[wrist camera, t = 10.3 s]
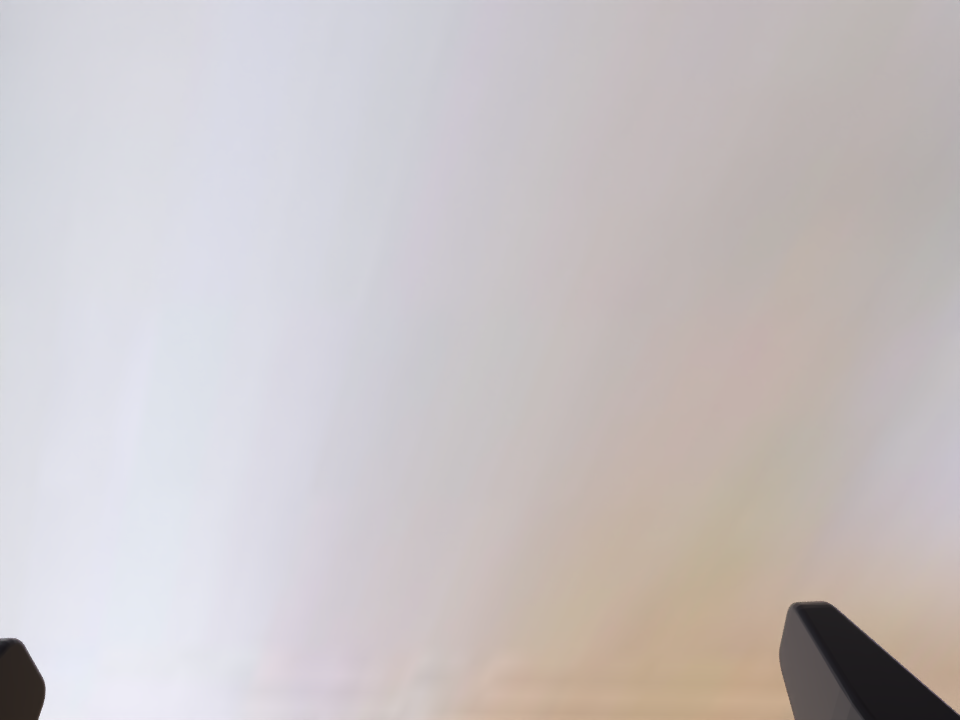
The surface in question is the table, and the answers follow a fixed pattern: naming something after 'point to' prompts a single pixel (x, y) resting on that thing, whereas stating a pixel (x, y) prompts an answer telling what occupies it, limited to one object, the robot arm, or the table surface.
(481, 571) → the table surface
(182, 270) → the table surface
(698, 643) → the table surface
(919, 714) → the robot arm
